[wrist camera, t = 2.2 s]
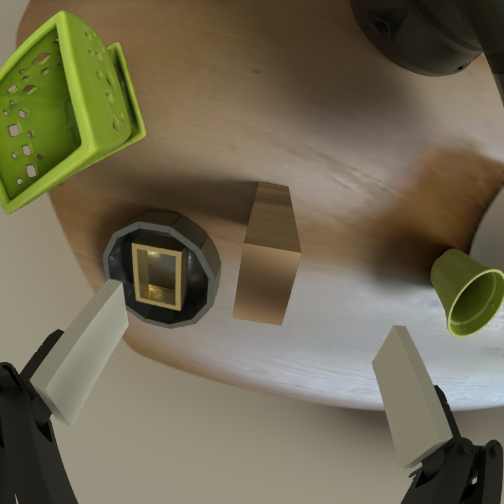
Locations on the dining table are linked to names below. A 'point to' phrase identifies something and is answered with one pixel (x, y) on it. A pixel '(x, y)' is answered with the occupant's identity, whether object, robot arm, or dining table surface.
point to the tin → (164, 268)
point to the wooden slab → (268, 257)
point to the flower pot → (63, 108)
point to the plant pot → (467, 292)
